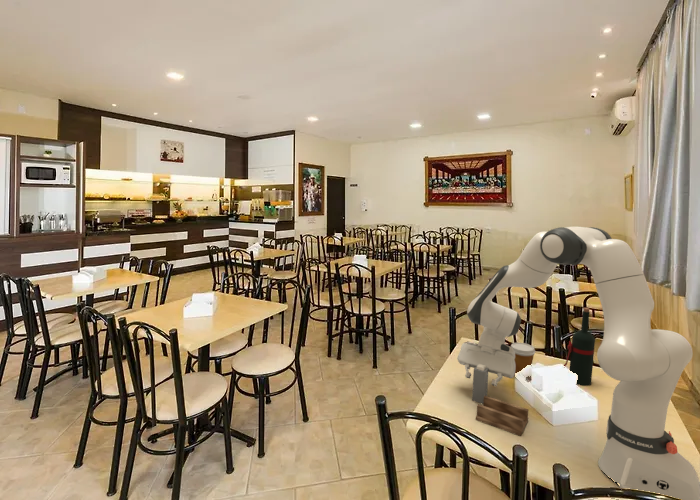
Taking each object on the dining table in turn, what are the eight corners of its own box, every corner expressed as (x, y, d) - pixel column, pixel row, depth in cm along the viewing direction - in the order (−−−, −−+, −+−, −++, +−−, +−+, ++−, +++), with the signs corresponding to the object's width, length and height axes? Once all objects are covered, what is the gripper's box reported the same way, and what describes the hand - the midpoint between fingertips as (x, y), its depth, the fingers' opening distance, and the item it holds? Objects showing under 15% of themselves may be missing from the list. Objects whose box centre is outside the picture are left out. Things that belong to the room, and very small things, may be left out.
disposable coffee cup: (537, 379, 149) (540, 351, 147) (513, 379, 149) (515, 351, 147) (527, 369, 158) (529, 342, 157) (504, 368, 158) (506, 342, 157)
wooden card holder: (528, 420, 122) (529, 408, 121) (520, 436, 114) (521, 422, 113) (485, 406, 130) (485, 394, 130) (475, 419, 122) (476, 407, 122)
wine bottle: (560, 373, 154) (566, 304, 150) (588, 378, 150) (595, 306, 146) (563, 382, 147) (569, 309, 142) (593, 387, 143) (601, 312, 139)
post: (486, 399, 135) (488, 365, 133) (483, 404, 132) (485, 369, 130) (475, 395, 137) (477, 362, 135) (472, 400, 134) (473, 366, 132)
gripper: (461, 336, 144) (450, 369, 137) (517, 349, 131) (508, 386, 125) (465, 343, 148) (454, 376, 142) (520, 357, 135) (511, 393, 129)
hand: (480, 381), depth 133 cm, fingers open, 8 cm apart
